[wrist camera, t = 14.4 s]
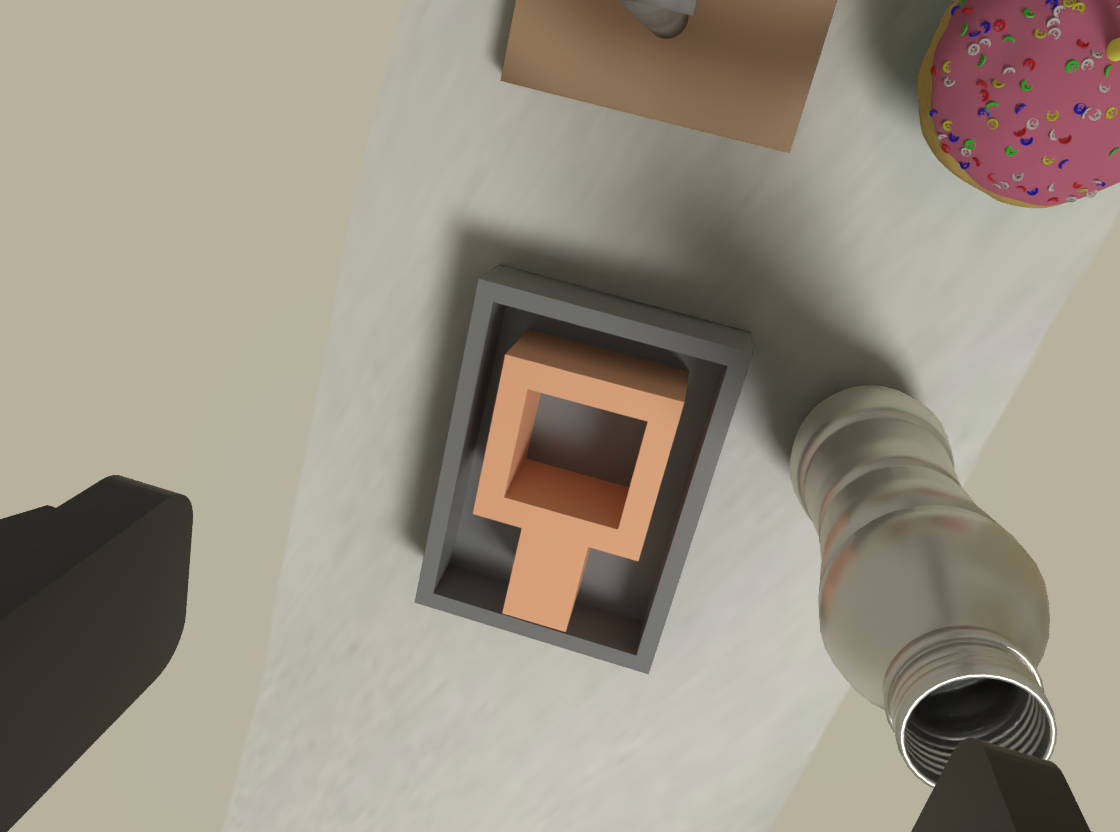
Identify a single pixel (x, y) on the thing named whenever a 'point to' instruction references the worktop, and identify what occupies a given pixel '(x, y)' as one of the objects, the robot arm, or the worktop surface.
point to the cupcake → (1025, 97)
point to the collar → (564, 496)
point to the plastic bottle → (920, 582)
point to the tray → (580, 461)
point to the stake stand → (677, 59)
